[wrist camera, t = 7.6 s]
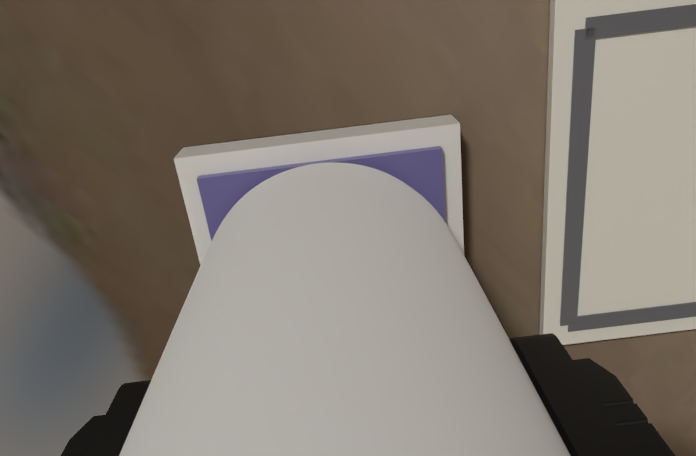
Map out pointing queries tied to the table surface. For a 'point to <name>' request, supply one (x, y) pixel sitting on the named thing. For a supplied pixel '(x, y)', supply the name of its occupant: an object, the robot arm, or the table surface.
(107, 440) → the robot arm
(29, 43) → the table surface
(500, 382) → the can
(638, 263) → the card
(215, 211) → the ink pad
